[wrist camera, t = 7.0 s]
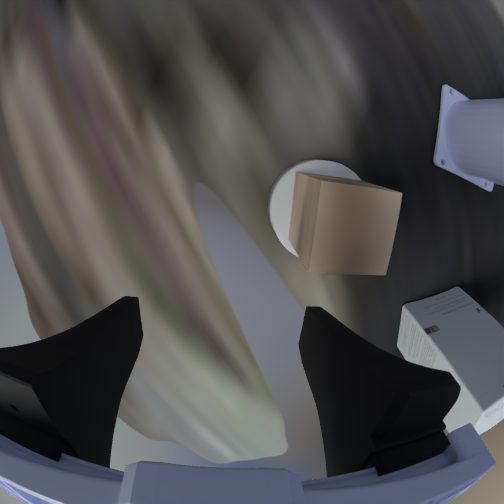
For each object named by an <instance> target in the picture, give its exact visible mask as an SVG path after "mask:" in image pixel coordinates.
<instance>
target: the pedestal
mask: <svg viewBox="0 0 504 504" xmlns="http://www.w3.org/2000/svg"><path fill="white" fill-rule="evenodd" d="M295 172H303V173H312V174H320V175H328V176H335V177H342V178H349V179H356V180H361V179H360V178H359V177H358V176H357V175H356V174H355V173H354V172H353V171H352V170H350V169H349V168H348V167H346V166H344V165H342V164H339V163H336V162H332V161H326V160H318V159H309V160H303V161H299V162H297V163H295V164H293V165H291V166H289V167H288V168H286V169H285V170H284V171H283V172H282V173H281V174H280V175H279V176H278V177H277V179H276V180H275V182H274V183H273V185H272V187H271V190H270V193H269V197H268V215H269V219H270V222H271V225H272V227H273V229H274V231H275V233H276V235H277V237H278V238H279V240H280V242H281V243H282V244H283V246H284V247H285V248H286V249H287V250H288V251H289V252H291V253H292V254H294V255H295V256H297V257H299V256H298V255H297V253H296V251H295V250H294V248H293V246H292V245H291V243H290V241H289V240H288V236H289V228H290V219H291V210H292V201H293V192H294V182H295Z"/></svg>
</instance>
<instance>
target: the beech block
mask: <svg viewBox="0 0 504 504" xmlns="http://www.w3.org/2000/svg"><path fill="white" fill-rule="evenodd" d="M401 199H402V193H400V192H397V191H394V190H391V189H388V188H385V187H381V186H378V185H375V184H371V183H368V182H364V181H361V180H356V179H349V178H342V177H335V176H328V175H320V174H312V173H303V172H295V182H294V192H293V201H292V210H291V219H290V228H289V236H288V240H289V241H290V243H291V245H292V246H293V248H294V250H295V251H296V253H297V255H298V256H299V258H300V260H301V261H302V263H303V265H304V266H305V268H306V270H307V272H308V273H322V274H356V275H386V272H387V268H388V264H389V260H390V255H391V251H392V247H393V242H394V237H395V232H396V227H397V222H398V217H399V211H400V205H401Z"/></svg>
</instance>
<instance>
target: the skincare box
mask: <svg viewBox="0 0 504 504" xmlns="http://www.w3.org/2000/svg"><path fill="white" fill-rule="evenodd" d="M397 347H398V348H399V350H400V351H401V353H402V354H403V356H404V358H405V359H406V361H409V362H412V363H415V364H418V365H421V366H425V367H429V368H433V369H438V370H443V371H448V372H450V373H451V374H452V375H453V377H454V378H455V379H456V381H457V382H458V383H459V385H460V386H461V391H460V394H459V397H458V399H457V401H456V403H455V404H454V406H453V407H452V408H451V410H450V411H449V413H448V414H447V415H446V417H445V418H444V419H443V421H444V423H445V424H446V429H447V430H448V432H449V433H450V432H452V431H454V430H456V429H458V428H460V427H462V426H464V425H467V424H469V423H471V424H472V425H473V427H474V428H475V430H476V431H477V433H478V434H479V435H480V434H481V433H483V432H485V431H487V430H489V429H490V428H492V427H493V426H494V425H496V424H497V423H498V422H499V421H501V420H502V419H503V418H504V328H503V327H502V326H501V325H500V324H499V323H498V322H497V321H496V320H495V319H494V318H493V317H492V316H491V315H490V314H489V313H488V312H487V311H486V310H485V309H483V308H482V307H481V306H480V305H479V304H478V303H477V302H476V301H475V300H474V299H472V298H471V297H470V296H469V295H468V294H467V293H466V292H464V291H463V290H462V289H461V288H459V287H455V288H452V289H450V290H448V291H446V292H443V293H440V294H438V295H435V296H432V297H429V298H426V299H422V300H419V301H415V302H410V303H406V304H404V305H403V307H402V314H401V322H400V329H399V335H398V342H397Z"/></svg>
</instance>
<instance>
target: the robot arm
mask: <svg viewBox="0 0 504 504" xmlns="http://www.w3.org/2000/svg"><path fill="white" fill-rule="evenodd" d="M450 92H451V94H450ZM441 161H443V163H441ZM433 162H434V164H435V165H436V166H438V167H440V168H443V169H445V170H447V171H449V172H451V173H453V174H455V175H458V176H460V177H462V178H464V179H466V180H468V181H470V182H472V183H474V184H475V185H477V186H479V187H481V188H483V189H485V190H487V191H489V192H491V191H492V189H493V184H494V183H495V184H499V185H502V186H504V98H502V99H479V100H470V99H468V98H467V97H465V96H464V95H462V94H461V93H459V92H458V91H456V90H455V89H453V88H452V87H450V86H448V85H443V86H442V91H441V104H440V115H439V124H438V132H437V139H436V146H435V152H434V158H433ZM484 183H485V185H484ZM142 339H143V331H142V323H141V316H140V308H139V299H138V297H130V296H125V297H123V298H121V299H119V300H117V301H116V302H114V303H113V304H111V305H110V306H108V307H106V308H105V309H103V310H102V311H100V312H99V313H97V314H95V315H94V316H92V317H90V318H89V319H87V320H85V321H83V322H82V323H80V324H78V325H76V326H74V327H72V328H70V329H68V330H66V331H64V332H62V333H59V334H57V335H54V336H51V337H48V338H46V339H43V340H40V341H36V342H33V343H29V344H24V345H19V346H14V347H7V348H0V488H2V489H3V490H4V491H6V492H8V493H9V494H11V495H12V496H14V497H15V498H17V499H19V500H20V501H22V502H24V503H25V504H445V503H446V502H448V501H450V500H452V499H454V498H455V497H457V496H459V495H460V494H461V493H463V492H464V491H465V490H467V489H468V488H469V487H470V486H472V485H473V484H474V483H476V482H477V481H478V480H479V479H480V478H481V477H483V476H484V475H485V474H486V473H487V472H488V471H490V470H491V469H492V468H493V467H494V466H495V465H496V462H495V460H494V458H493V457H492V455H491V453H490V452H489V450H488V449H487V447H486V446H485V444H484V442H483V441H482V439H481V438H480V436H479V434H478V433H477V431H476V430H475V428H474V427H473V425H472V424H471V423H469V424H467V425H464V426H462V427H460V428H458V429H456V430H454V431H452V432H450V433H449V434H448V435H447V436H446V435H445V433H444V432H443V430H444V429H445V428H446V424H445V423H444V421H443V419H444V418H445V417H446V415H447V414H448V413H449V411H450V410H451V408H452V407H453V406H454V404H455V403H456V401H457V399H458V397H459V394H460V391H461V386H460V385H459V383H458V382H457V381H456V379H455V378H454V377H453V375H452V374H451V373H450V372H448V371H443V370H438V369H433V368H429V367H425V366H421V365H418V364H415V363H412V362H409V361H406V360H404V359H401V358H399V357H397V356H394V355H392V354H390V353H388V352H386V351H384V350H382V349H380V348H378V347H376V346H374V345H373V344H371V343H369V342H368V341H366V340H365V339H363V338H362V337H360V336H359V335H357V334H356V333H354V332H353V331H352V330H350V329H349V328H347V327H346V326H345V325H344V324H342V323H341V322H340V321H338V320H337V319H336V318H335V317H333V316H332V315H331V314H329V313H328V312H327V311H326V310H324V309H323V308H321V307H307V306H306V311H305V316H304V321H303V326H302V331H301V335H300V340H299V349H300V354H301V360H302V364H303V367H304V370H305V373H306V376H307V379H308V382H309V385H310V388H311V390H312V394H313V397H314V400H315V403H316V406H317V410H318V415H319V420H320V425H321V431H322V437H323V443H324V451H325V459H326V470H327V478H322V479H314V480H307V481H301V477H300V475H299V474H297V473H294V472H291V471H289V470H286V469H277V468H214V467H213V468H212V467H198V466H186V465H177V464H170V463H163V462H148V461H140V462H136V463H133V464H130V465H127V466H126V467H125V472H123V471H119V470H115V469H111V468H110V456H111V448H112V440H113V433H114V428H115V423H116V418H117V413H118V409H119V405H120V401H121V398H122V394H123V392H124V389H125V386H126V384H127V381H128V379H129V377H130V374H131V372H132V369H133V367H134V364H135V362H136V359H137V357H138V354H139V351H140V347H141V343H142Z"/></svg>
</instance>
